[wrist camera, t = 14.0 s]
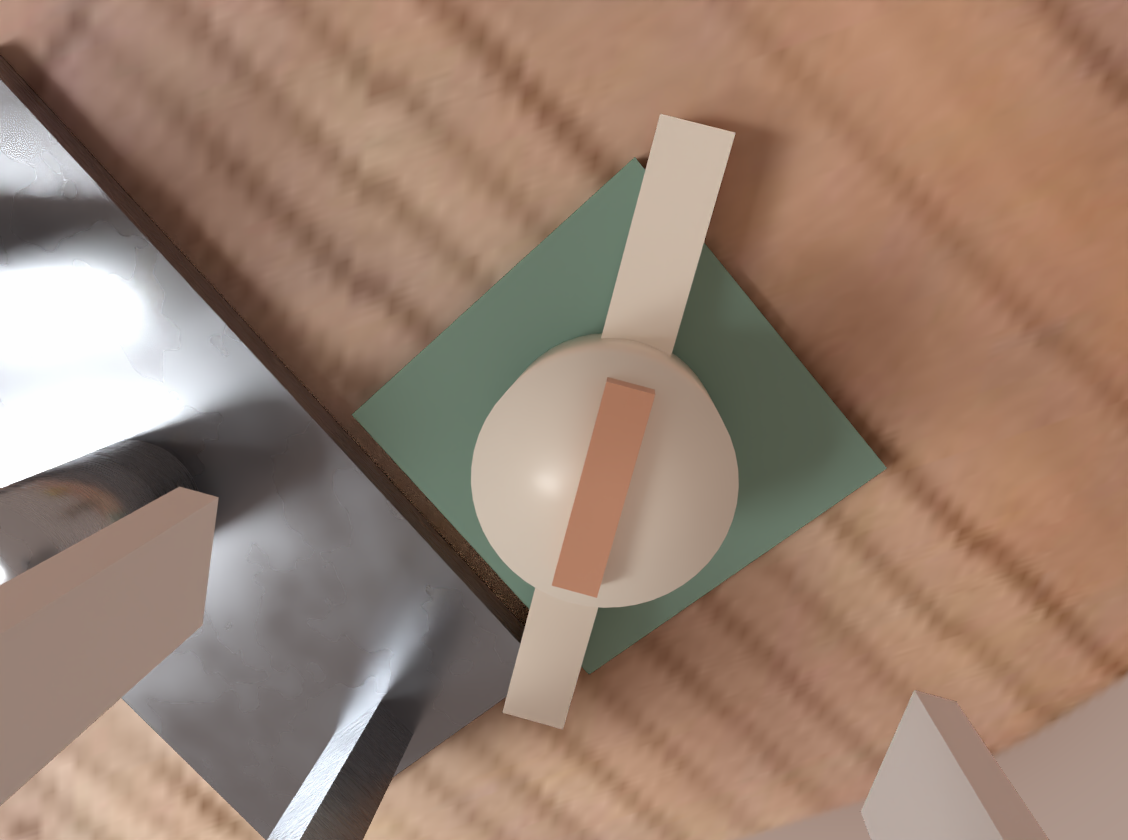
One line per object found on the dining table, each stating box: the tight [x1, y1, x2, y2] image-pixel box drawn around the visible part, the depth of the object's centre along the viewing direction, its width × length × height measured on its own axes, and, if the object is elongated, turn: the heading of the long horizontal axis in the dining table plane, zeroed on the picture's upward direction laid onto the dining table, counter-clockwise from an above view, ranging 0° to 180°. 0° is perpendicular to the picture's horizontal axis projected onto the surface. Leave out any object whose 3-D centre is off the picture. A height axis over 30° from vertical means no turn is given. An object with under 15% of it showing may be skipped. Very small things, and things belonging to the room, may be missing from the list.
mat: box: [352, 157, 887, 674], centre depth 27 cm, size 14×14×1 cm
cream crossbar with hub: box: [471, 114, 739, 729], centre depth 24 cm, size 22×8×6 cm, turn 166°
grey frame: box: [0, 55, 525, 840], centre depth 24 cm, size 31×16×14 cm, turn 41°
